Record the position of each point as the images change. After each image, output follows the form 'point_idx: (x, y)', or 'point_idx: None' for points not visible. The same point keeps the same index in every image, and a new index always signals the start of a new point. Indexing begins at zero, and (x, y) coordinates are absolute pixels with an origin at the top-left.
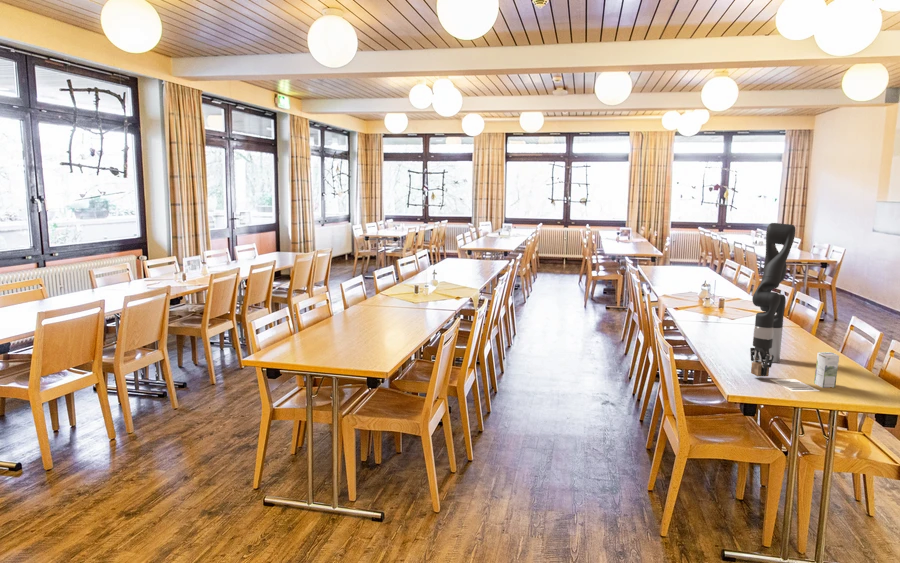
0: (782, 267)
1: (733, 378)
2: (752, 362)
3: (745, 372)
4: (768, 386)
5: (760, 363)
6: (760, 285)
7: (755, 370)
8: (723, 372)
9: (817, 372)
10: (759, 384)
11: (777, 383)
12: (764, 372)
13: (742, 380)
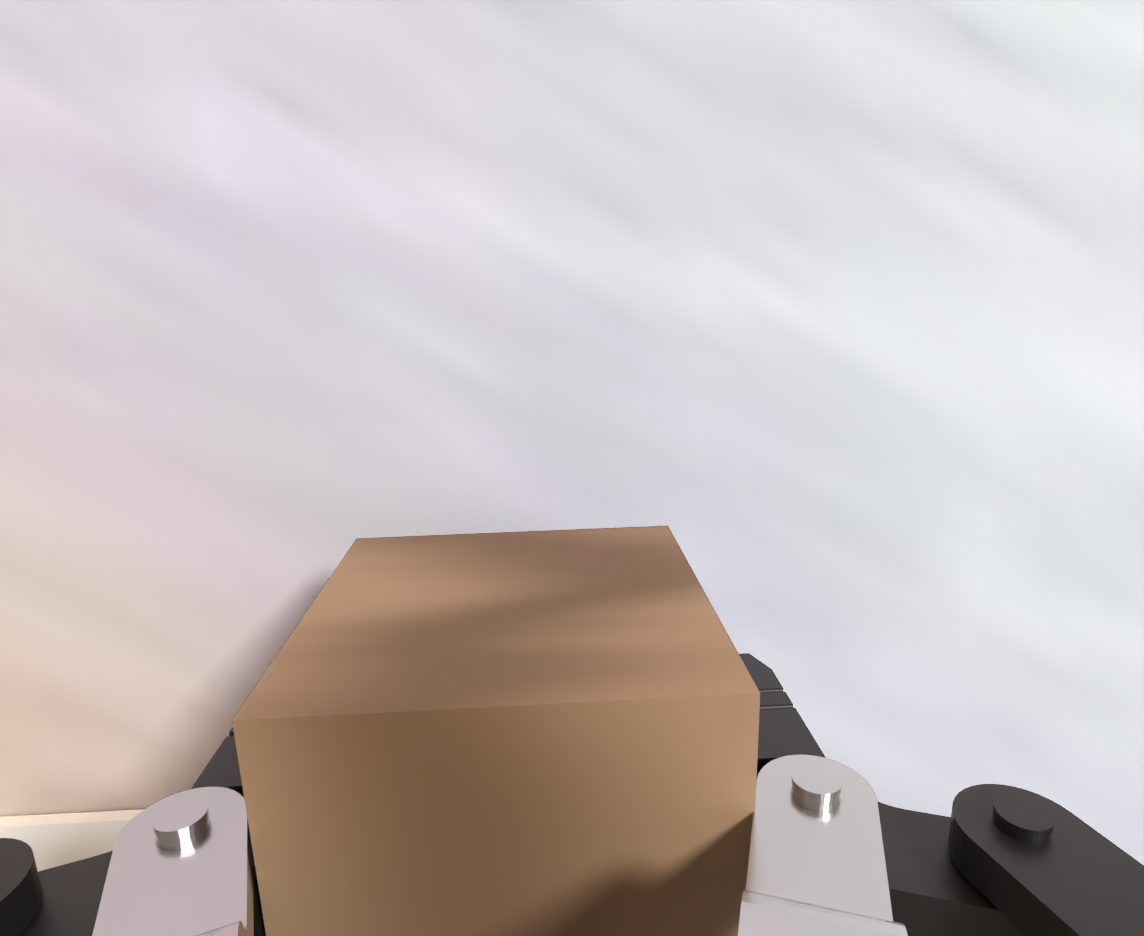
0: None
1: (614, 11)
2: (714, 696)
3: (1035, 581)
4: (22, 559)
5: (548, 932)
6: None
7: (457, 588)
8: (1135, 18)
9: None
10: (150, 434)
11: None
12: (235, 745)
13: (445, 174)
